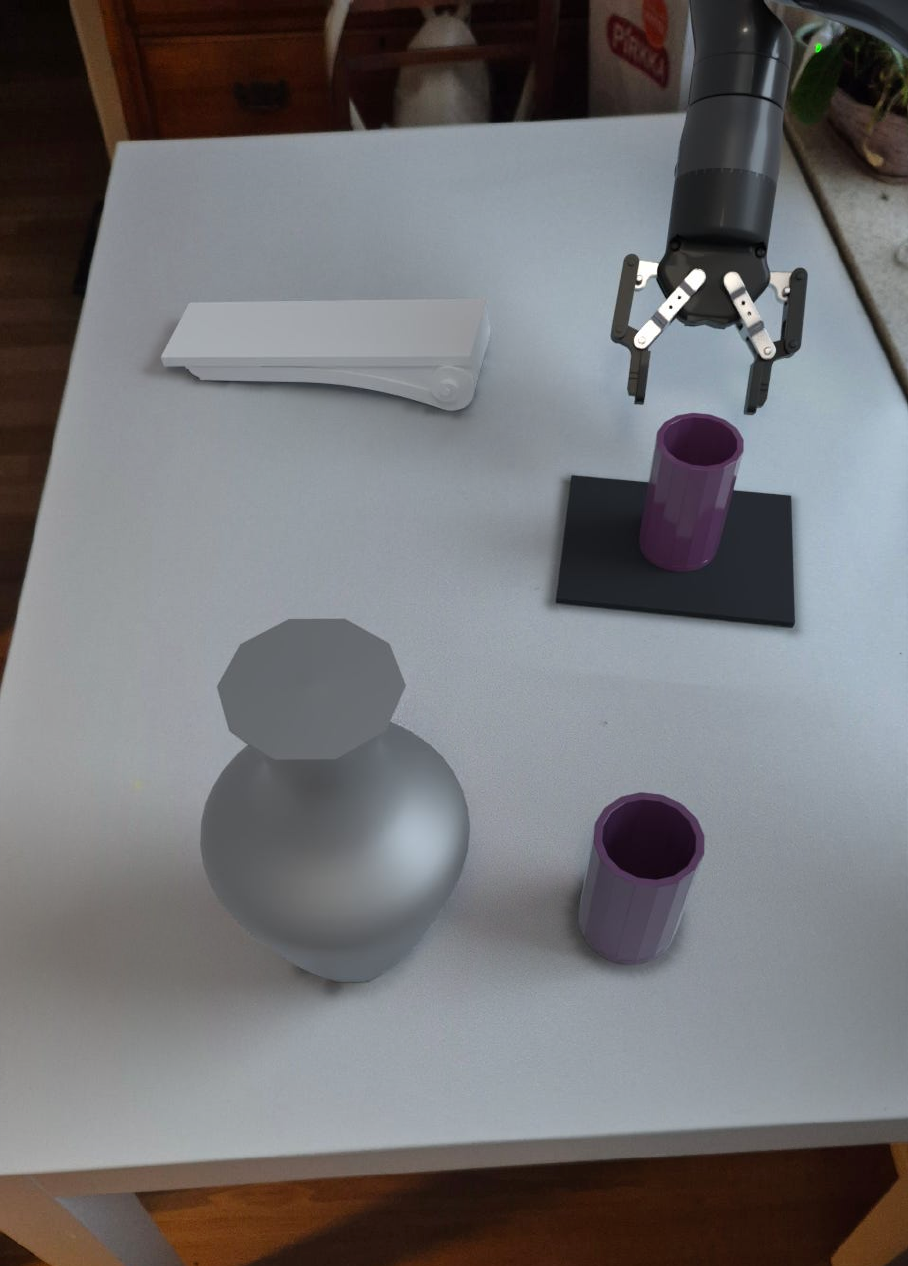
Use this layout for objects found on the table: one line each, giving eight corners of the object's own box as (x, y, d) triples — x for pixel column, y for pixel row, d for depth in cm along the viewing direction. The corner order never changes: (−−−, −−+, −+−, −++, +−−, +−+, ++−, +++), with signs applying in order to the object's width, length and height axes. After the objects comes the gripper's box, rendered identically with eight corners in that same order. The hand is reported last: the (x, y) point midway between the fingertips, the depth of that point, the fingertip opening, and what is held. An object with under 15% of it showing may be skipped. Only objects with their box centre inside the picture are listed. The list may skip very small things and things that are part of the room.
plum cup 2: (677, 883, 74) (705, 799, 65) (674, 970, 70) (703, 893, 62) (582, 872, 74) (597, 786, 66) (574, 958, 71) (590, 879, 63)
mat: (789, 500, 93) (791, 495, 93) (793, 627, 86) (795, 622, 85) (570, 480, 95) (571, 474, 94) (555, 603, 87) (556, 598, 87)
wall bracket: (188, 426, 107) (480, 429, 101) (156, 372, 100) (467, 372, 94) (211, 340, 110) (495, 338, 104) (181, 282, 103) (483, 276, 97)
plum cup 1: (717, 520, 91) (744, 416, 83) (716, 576, 88) (743, 474, 80) (640, 512, 92) (658, 409, 83) (636, 568, 88) (654, 465, 80)
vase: (228, 1044, 68) (125, 821, 47) (250, 839, 76) (171, 568, 55) (469, 1043, 68) (474, 819, 47) (467, 838, 76) (470, 567, 55)
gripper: (632, 156, 82) (603, 393, 85) (834, 170, 80) (796, 410, 84) (627, 189, 89) (601, 407, 92) (812, 203, 88) (778, 423, 91)
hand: (694, 408), depth 88 cm, fingers open, 8 cm apart
